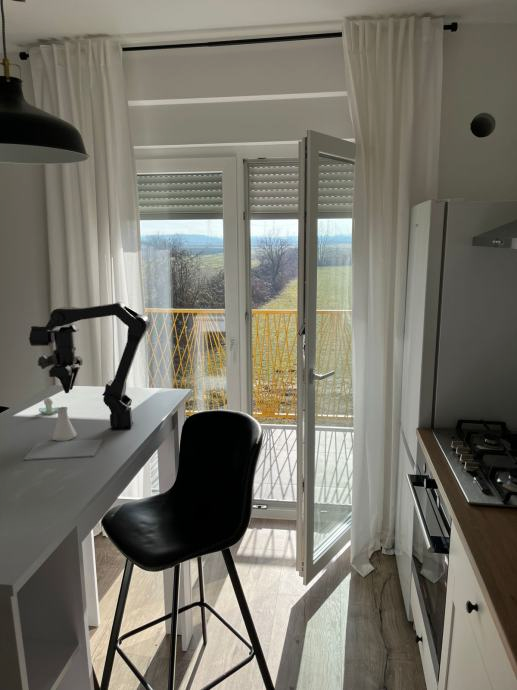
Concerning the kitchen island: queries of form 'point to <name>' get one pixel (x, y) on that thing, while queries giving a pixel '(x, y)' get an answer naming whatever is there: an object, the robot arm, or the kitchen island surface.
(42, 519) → the kitchen island surface
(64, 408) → the flask
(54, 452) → the mat
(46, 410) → the pacifier
